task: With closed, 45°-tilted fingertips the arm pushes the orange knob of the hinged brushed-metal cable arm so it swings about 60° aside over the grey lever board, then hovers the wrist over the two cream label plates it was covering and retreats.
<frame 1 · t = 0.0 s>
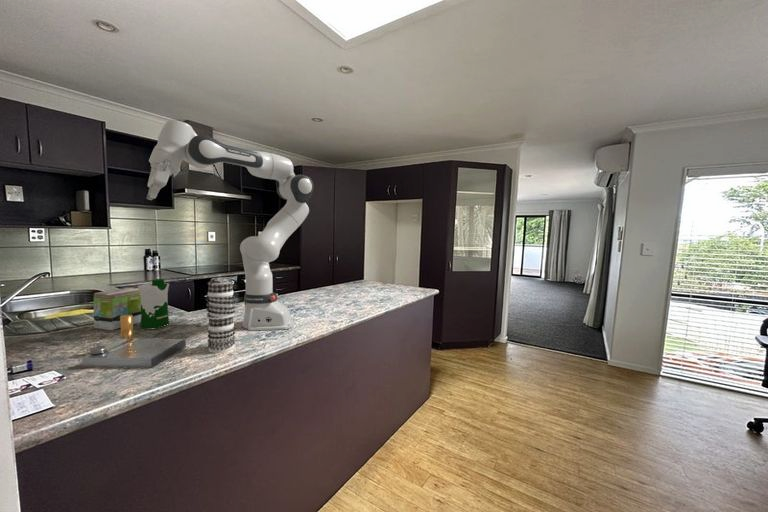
hand: (150, 198, 107), 52 cm above the counter, tool tilted 20°, fingers open, 8 cm apart
decorative candle: (221, 348, 109), on the counter
milk carton: (155, 326, 130), on the counter
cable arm: (112, 333, 98), point 8 cm above the counter, hinge at 0.0°
grey lever board: (137, 356, 100), on the counter
tea box: (122, 324, 132), on the counter
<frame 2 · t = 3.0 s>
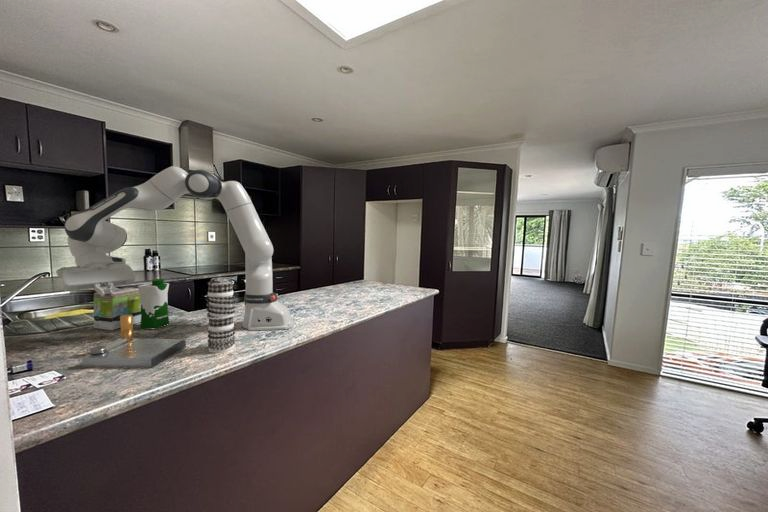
hand: (107, 294, 109), 18 cm above the counter, tool tilted 45°, fingers closed
nothing on the counter moved.
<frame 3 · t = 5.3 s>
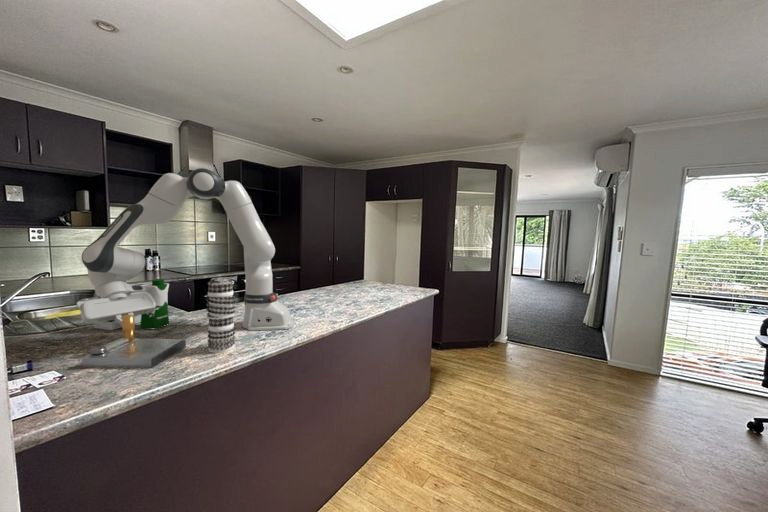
hand: (128, 326, 106), 8 cm above the counter, tool tilted 45°, fingers closed, pressing on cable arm
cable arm: (113, 333, 98), point 8 cm above the counter, hinge at -3.1°, touching gripper
everything else where it was.
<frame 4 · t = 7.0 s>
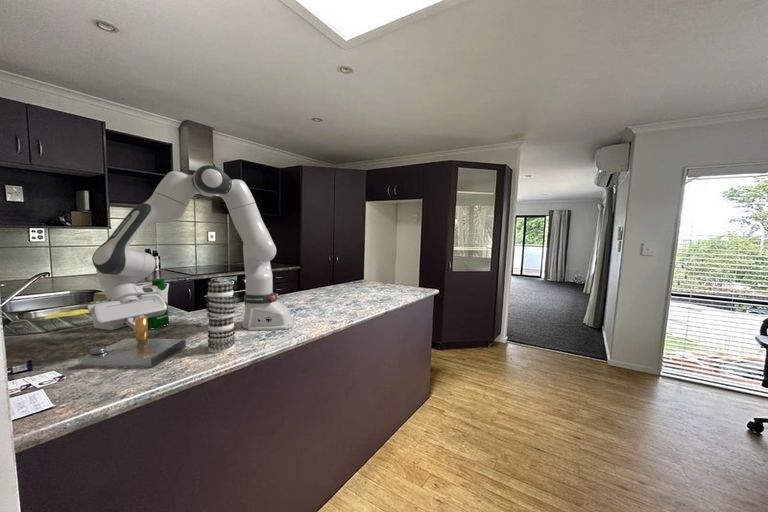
hand: (140, 329, 104), 7 cm above the counter, tool tilted 45°, fingers closed, pressing on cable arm
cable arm: (120, 334, 97), point 8 cm above the counter, hinge at -35.5°, touching gripper
everything else where it was.
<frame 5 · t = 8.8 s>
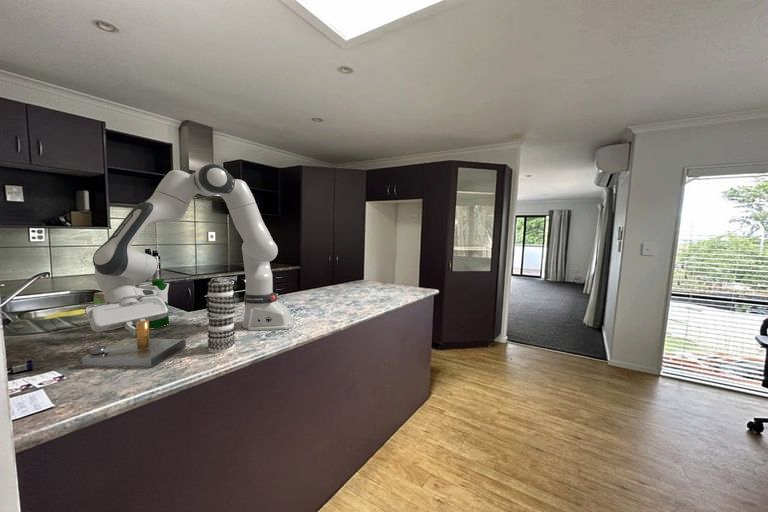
hand: (140, 333, 99), 8 cm above the counter, tool tilted 45°, fingers closed, pressing on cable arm
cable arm: (120, 337, 95), point 8 cm above the counter, hinge at -65.2°, touching gripper
everything else where it was.
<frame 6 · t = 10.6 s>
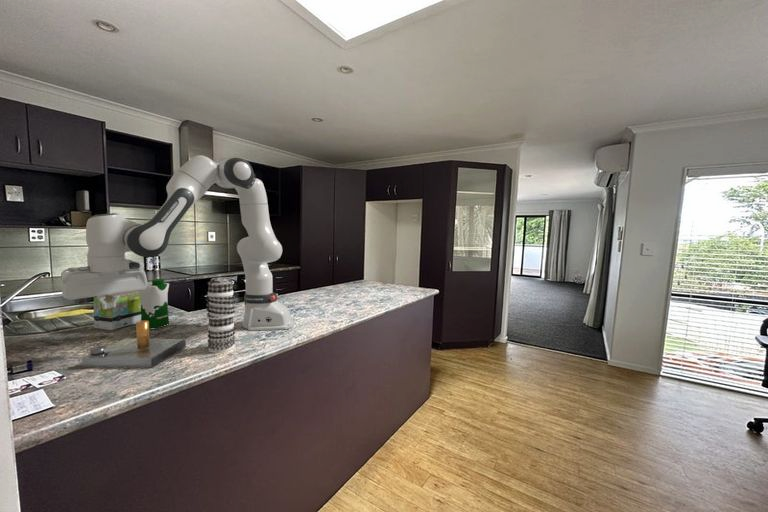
hand: (109, 308, 97), 16 cm above the counter, tool pointing down, fingers closed
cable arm: (120, 337, 95), point 8 cm above the counter, hinge at -65.2°
everything else where it was.
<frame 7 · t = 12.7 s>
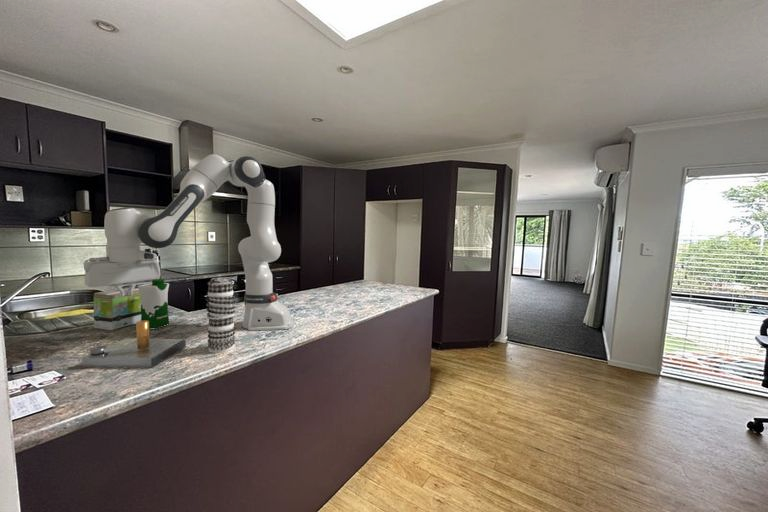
hand: (126, 295, 105), 18 cm above the counter, tool pointing down, fingers closed
nothing on the counter moved.
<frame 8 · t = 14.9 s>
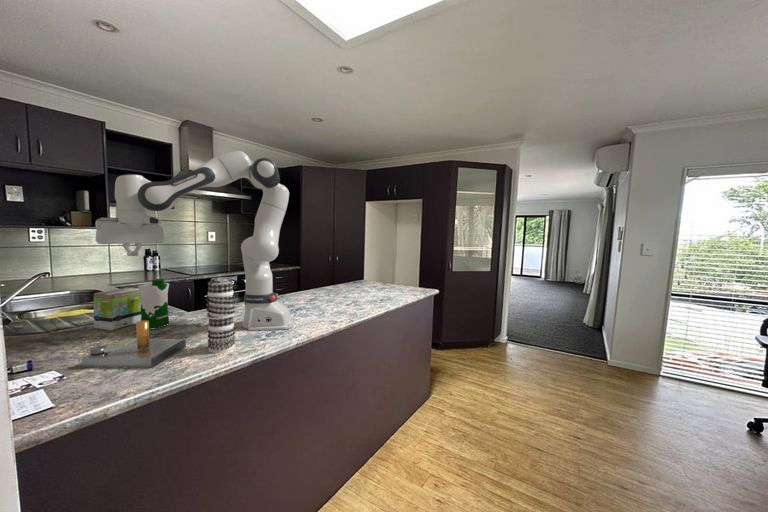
hand: (132, 255, 115), 31 cm above the counter, tool pointing down, fingers closed
nothing on the counter moved.
at the end: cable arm at -65° (first picture: +0°); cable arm 0.0 cm from the target spot, resting on grey lever board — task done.
